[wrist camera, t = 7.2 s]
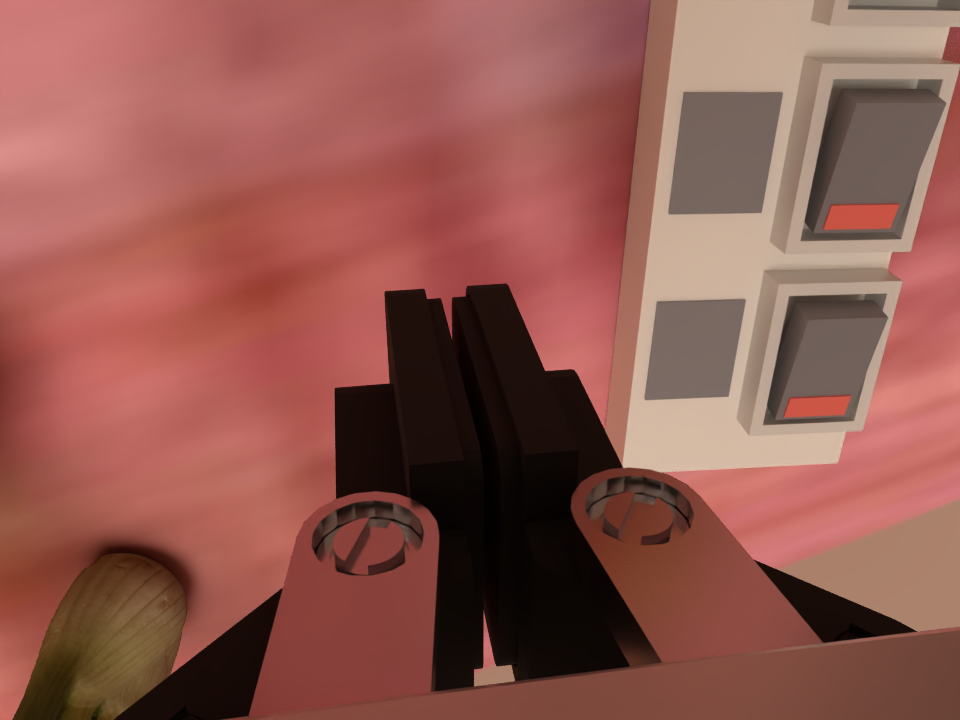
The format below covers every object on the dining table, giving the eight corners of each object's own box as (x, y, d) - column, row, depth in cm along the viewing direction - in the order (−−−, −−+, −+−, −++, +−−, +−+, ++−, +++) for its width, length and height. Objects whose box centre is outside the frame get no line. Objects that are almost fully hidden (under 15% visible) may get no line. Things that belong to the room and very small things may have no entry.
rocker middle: (841, 88, 30) (858, 104, 29) (928, 89, 30) (948, 104, 29) (800, 216, 33) (814, 234, 32) (879, 215, 33) (895, 233, 32)
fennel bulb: (70, 539, 40) (-36, 769, 29) (180, 528, 40) (115, 750, 30) (100, 632, 42) (14, 874, 32) (203, 621, 43) (151, 855, 32)
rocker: (795, 302, 33) (809, 321, 32) (873, 299, 34) (889, 318, 33) (763, 401, 37) (775, 421, 36) (835, 398, 37) (849, 418, 36)
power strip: (683, -309, 28) (735, -344, 24) (974, -292, 29) (1070, -323, 25) (604, 437, 40) (630, 493, 37) (807, 427, 42) (853, 481, 38)
